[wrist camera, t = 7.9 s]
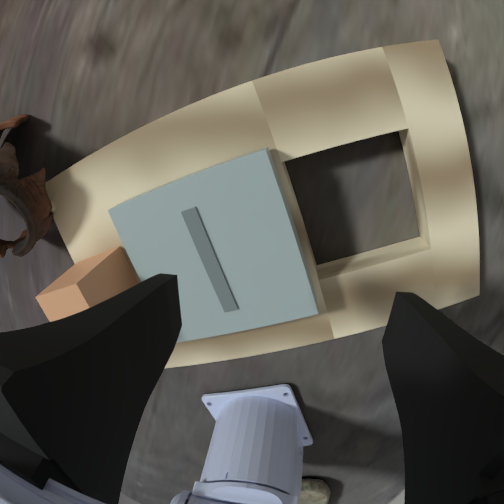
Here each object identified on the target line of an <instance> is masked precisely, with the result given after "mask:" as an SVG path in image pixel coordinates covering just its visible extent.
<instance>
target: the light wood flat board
mask: <svg viewBox="0 0 504 504" xmlns="http://www.w3.org/2000/svg"><path fill="white" fill-rule="evenodd" d="M395 131H398V132H399V136H400V139H401V143H402V147H403V151H404V155H405V160H406V164H407V168H408V173H409V178H410V182H411V187H412V193H413V198H414V203H415V209H416V215H417V221H418V227H419V234H420V237H416V238H413V239H409V240H406V241H402V242H399V243H395V244H392V245H388V246H385V247H381V248H378V249H374V250H371V251H367V252H363V253H360V254H356V255H352V256H349V257H345V258H341V259H338V260H334V261H330V262H327V263H323V264H319V265H316V261H315V258H314V254H313V251H312V248H311V244H310V241H309V238H308V234H307V231H306V228H305V224H304V221H303V218H302V215H301V212H300V208H299V205H298V202H297V199H296V196H295V193H294V190H293V187H292V184H291V181H290V178H289V175H288V172H287V169H286V166H285V163H284V161H287V160H291V159H294V158H297V157H301V156H304V155H308V154H311V153H315V152H318V151H322V150H325V149H329V148H332V147H336V146H340V145H343V144H347V143H351V142H355V141H358V140H362V139H366V138H370V137H374V136H378V135H382V134H386V133H391V132H395ZM265 147H269V150H270V153H271V155H272V158H273V161H274V164H275V167H276V170H277V173H278V176H279V179H280V182H281V185H282V188H283V191H284V194H285V197H286V200H287V203H288V206H289V209H290V212H291V215H292V218H293V221H294V224H295V227H296V230H297V234H298V237H299V240H300V243H301V246H302V250H303V253H304V256H305V259H306V263H307V266H308V269H309V272H310V276H311V279H312V282H313V286H314V289H315V293H316V296H317V302H318V313H319V314H316V315H312V316H308V317H304V318H300V319H295V320H291V321H286V322H282V323H277V324H273V325H268V326H263V327H259V328H254V329H249V330H244V331H239V332H234V333H229V334H223V335H218V336H213V337H207V338H201V339H196V340H190V341H184V342H178V343H176V345H175V348H174V350H173V352H172V354H171V356H170V358H169V360H168V362H167V364H166V366H165V368H172V367H180V366H188V365H196V364H203V363H210V362H217V361H224V360H230V359H236V358H242V357H248V356H254V355H259V354H265V353H270V352H276V351H281V350H286V349H291V348H295V347H300V346H305V345H309V344H314V343H318V342H323V341H327V340H331V339H336V338H340V337H344V336H348V335H352V334H356V333H360V332H364V331H367V330H371V329H375V328H379V327H382V326H386V325H387V323H388V319H389V316H390V312H391V309H392V305H393V301H394V298H395V294H396V292H413V293H414V294H416V295H418V296H419V297H421V298H422V299H424V300H425V301H426V302H428V303H429V304H430V305H432V306H433V307H434V308H436V309H437V310H438V309H441V308H444V307H447V306H450V305H453V304H456V303H459V302H462V301H465V300H468V299H470V298H473V297H476V296H479V292H480V251H479V229H478V215H477V205H476V195H475V187H474V179H473V172H472V166H471V160H470V154H469V148H468V143H467V138H466V133H465V129H464V124H463V120H462V115H461V111H460V107H459V104H458V100H457V96H456V92H455V89H454V85H453V82H452V79H451V75H450V72H449V69H448V66H447V63H446V60H445V57H444V54H443V51H442V49H441V46H440V43H439V41H438V39H437V40H428V41H419V42H411V43H404V44H397V45H391V46H385V47H379V48H374V49H368V50H363V51H358V52H354V53H349V54H344V55H340V56H336V57H332V58H328V59H324V60H320V61H316V62H312V63H308V64H305V65H301V66H297V67H294V68H291V69H287V70H284V71H281V72H277V73H274V74H271V75H268V76H265V77H262V78H259V79H256V80H253V81H250V82H247V83H244V84H242V85H239V86H236V87H233V88H231V89H228V90H225V91H223V92H220V93H217V94H215V95H212V96H210V97H207V98H205V99H203V100H200V101H198V102H195V103H193V104H191V105H188V106H186V107H184V108H181V109H179V110H177V111H175V112H172V113H170V114H168V115H166V116H164V117H162V118H159V119H157V120H155V121H153V122H151V123H149V124H147V125H145V126H143V127H141V128H139V129H137V130H135V131H133V132H131V133H129V134H127V135H125V136H123V137H121V138H120V139H118V140H116V141H114V142H112V143H110V144H109V145H107V146H105V147H103V148H101V149H100V150H98V151H96V152H94V153H93V154H91V155H89V156H87V157H86V158H84V159H82V160H81V161H79V162H77V163H76V164H74V165H72V166H71V167H69V168H68V169H66V170H64V171H63V172H61V173H60V174H58V175H57V176H55V177H54V178H52V179H50V180H49V181H47V182H46V183H45V188H46V192H47V194H48V197H49V199H50V201H51V204H52V210H51V212H52V213H53V218H54V221H55V223H56V225H57V228H58V230H59V232H60V234H61V236H62V239H63V241H64V243H65V245H66V247H67V249H68V251H69V253H70V255H71V257H72V259H73V261H74V263H75V264H76V263H77V262H79V261H81V260H84V259H86V258H89V257H92V256H94V255H97V254H99V253H102V252H105V251H108V250H110V249H113V248H116V247H118V246H120V247H121V249H122V251H123V253H124V256H125V258H126V260H127V262H128V264H129V266H130V268H131V270H132V272H133V274H134V276H135V278H136V280H137V282H138V283H140V282H141V280H140V278H139V276H138V274H137V272H136V270H135V268H134V266H133V264H132V262H131V260H130V258H129V256H128V254H127V252H126V250H125V248H124V245H123V243H122V241H121V239H120V237H119V235H118V232H117V230H116V228H115V226H114V223H113V221H112V219H111V217H110V214H109V212H108V210H109V209H111V208H113V207H114V206H116V205H118V204H119V203H121V202H123V201H126V200H128V199H130V198H133V197H135V196H137V195H140V194H142V193H144V192H147V191H149V190H151V189H154V188H156V187H159V186H161V185H164V184H166V183H169V182H171V181H174V180H176V179H179V178H181V177H184V176H186V175H189V174H192V173H194V172H197V171H199V170H202V169H205V168H208V167H210V166H213V165H216V164H218V163H221V162H224V161H227V160H230V159H233V158H235V157H238V156H241V155H244V154H247V153H250V152H253V151H256V150H259V149H262V148H265Z"/></svg>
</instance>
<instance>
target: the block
mask: <svg viewBox="0 0 504 504" xmlns="http://www.w3.org/2000/svg"><path fill="white" fill-rule="evenodd" d="M136 284H138V282H137V280H136V278H135V276H134V274H133V272H132V270H131V268H130V266H129V264H128V262H127V260H126V258H125V256H124V253H123V251H122V249H121V247H120V246H118V247H116V248H113V249H110V250H108V251H105V252H102V253H99V254H97V255H94V256H92V257H89V258H86V259H84V260H81V261H79V262H77V263H76V264H75V265H74V266H72V267H71V268H70V269H69V270H67V271H66V272H65V273H64V274H62V275H61V276H60V277H59V278H58V279H56V280H55V281H54V282H53V283H52V284H50V285H49V286H48V287H47V288H46V289H44V290H43V291H42V292H41V293H40V294H39V295H37V296H36V299H37V301H38V302H39V304H40V306H41V308H42V309H43V311H44V313H45V314H46V316H47V318H48V319H49V321H50V322H52V321H56V320H59V319H62V318H65V317H68V316H71V315H73V314H76V313H79V312H81V311H83V310H86V309H88V308H91V307H93V306H95V305H97V304H99V303H101V302H103V301H105V300H107V299H109V298H111V297H114V296H116V295H117V294H119V293H121V292H123V291H125V290H127V289H129V288H131V287H133V286H135V285H136Z"/></svg>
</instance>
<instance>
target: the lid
mask: <svg viewBox="0 0 504 504" xmlns="http://www.w3.org/2000/svg"><path fill="white" fill-rule="evenodd" d="M108 212H109V214H110V217H111V219H112V221H113V223H114V226H115V228H116V230H117V232H118V235H119V237H120V239H121V241H122V243H123V245H124V248H125V250H126V252H127V254H128V256H129V258H130V260H131V262H132V264H133V266H134V268H135V270H136V272H137V274H138V276H139V278H140V280H141V282H142V281H144V280H146V279H148V278H150V277H152V276H155V275H157V274H160V273H163V274H173V275H177V279H178V290H179V300H180V310H181V319H182V327H181V330H180V333H179V337H178V340H177V342H176V343H178V342H184V341H190V340H196V339H201V338H207V337H213V336H218V335H223V334H229V333H234V332H239V331H244V330H249V329H254V328H259V327H263V326H268V325H273V324H277V323H282V322H286V321H291V320H295V319H300V318H304V317H308V316H312V315H316V314H319V313H318V302H317V296H316V293H315V289H314V286H313V282H312V279H311V276H310V272H309V269H308V266H307V263H306V259H305V256H304V253H303V250H302V246H301V243H300V240H299V237H298V234H297V230H296V227H295V224H294V221H293V218H292V215H291V212H290V209H289V206H288V203H287V200H286V197H285V194H284V191H283V188H282V185H281V182H280V179H279V176H278V173H277V170H276V167H275V164H274V161H273V158H272V155H271V153H270V150H269V147H265V148H262V149H259V150H256V151H253V152H250V153H247V154H244V155H241V156H238V157H235V158H233V159H230V160H227V161H224V162H221V163H218V164H216V165H213V166H210V167H208V168H205V169H202V170H199V171H197V172H194V173H192V174H189V175H186V176H184V177H181V178H179V179H176V180H174V181H171V182H169V183H166V184H164V185H161V186H159V187H156V188H154V189H151V190H149V191H147V192H144V193H142V194H140V195H137V196H135V197H133V198H130V199H128V200H126V201H123V202H121V203H119V204H118V205H116V206H114V207H113V208H111V209H109V210H108Z"/></svg>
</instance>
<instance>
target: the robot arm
mask: <svg viewBox="0 0 504 504" xmlns="http://www.w3.org/2000/svg"><path fill="white" fill-rule="evenodd" d="M181 327H182V319H181V310H180V300H179V290H178V279H177V275H173V274H163V273H160V274H157V275H155V276H152V277H150V278H148V279H146V280H144V281H142V282H140V283H138V284H136V285H135V286H133V287H131V288H129V289H127V290H125V291H123V292H121V293H119V294H117V295H116V296H114V297H111V298H109V299H107V300H105V301H103V302H101V303H99V304H97V305H95V306H93V307H91V308H88V309H86V310H83V311H81V312H79V313H76V314H73V315H71V316H68V317H65V318H62V319H59V320H56V321H52V322H49V323H45V324H42V325H38V326H35V327H30V328H26V329H21V330H15V331H9V332H2V333H0V504H118V502H119V496H120V492H121V487H122V482H123V477H124V473H125V469H126V465H127V462H128V458H129V454H130V451H131V447H132V444H133V441H134V438H135V434H136V431H137V428H138V425H139V422H140V420H141V417H142V414H143V411H144V408H145V406H146V404H147V402H148V399H149V397H150V395H151V393H152V391H153V389H154V387H155V385H156V383H157V382H158V380H159V378H160V376H161V374H162V372H163V370H164V368H165V366H166V364H167V362H168V360H169V358H170V356H171V354H172V352H173V350H174V348H175V345H176V342H177V340H178V337H179V333H180V330H181ZM382 345H383V352H384V359H385V366H386V370H387V373H388V377H389V381H390V384H391V388H392V392H393V395H394V399H395V403H396V407H397V410H398V414H399V418H400V423H401V429H402V437H403V447H404V461H405V504H504V355H502V354H500V353H498V352H497V351H495V350H493V349H492V348H490V347H488V346H487V345H485V344H483V343H482V342H480V341H479V340H477V339H476V338H474V337H473V336H472V335H470V334H469V333H467V332H466V331H465V330H463V329H462V328H460V327H459V326H458V325H456V324H455V323H454V322H452V321H451V320H450V319H449V318H447V317H446V316H445V315H443V314H442V313H441V312H440V311H438V310H437V309H436V308H434V307H433V306H432V305H430V304H429V303H428V302H426V301H425V300H424V299H422V298H421V297H419V296H418V295H416V294H414V293H413V292H396V294H395V298H394V301H393V305H392V309H391V312H390V316H389V319H388V323H387V326H386V330H385V333H384V336H383V340H382ZM202 401H203V402H204V404H205V405H206V407H207V408H208V410H209V411H210V413H211V414H212V416H213V417H214V419H215V420H216V424H215V428H214V431H213V435H212V439H211V442H210V446H209V450H208V453H207V457H206V461H205V464H204V468H203V472H202V475H201V479H200V482H198V481H196V482H195V484H194V487H193V491H192V492H190V491H187V490H184V491H182V492H181V493H180V494H178V495H176V496H175V497H174V498H173V499H172V501H171V503H170V504H298V500H299V497H300V494H301V484H302V464H303V446H308V445H311V444H313V439H312V436H311V434H310V432H309V429H308V427H307V424H306V422H305V420H304V417H303V415H302V412H301V410H300V408H299V405H298V403H297V400H296V398H295V396H294V393H293V391H292V388H291V386H290V385H288V384H280V385H274V386H268V387H261V388H254V389H247V390H239V391H231V392H222V393H213V394H205V395H203V397H202Z"/></svg>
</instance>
